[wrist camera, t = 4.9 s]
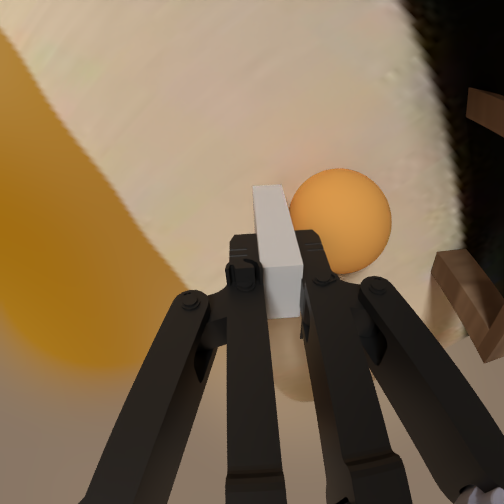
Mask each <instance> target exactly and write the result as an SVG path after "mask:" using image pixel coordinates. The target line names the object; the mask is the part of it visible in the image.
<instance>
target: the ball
mask: <svg viewBox="0 0 504 504" xmlns="http://www.w3.org/2000/svg"><path fill="white" fill-rule="evenodd" d="M289 213H290V217H291V220H292V224H293V228H294V230H310V229H312V230H313V231H315V232H316V233H317V234H318V235H319V237H320V240H321V242H322V245H323V248H324V251H325V253H326V256H327V259H328V262H329V265H330V268H331V270H332V271H333V272H334V273H336V274H346V273H352V272H356V271H359V270H361V269H363V268H365V267H367V266H368V265H370V264H371V263H372V262H374V261H375V260H376V259H377V258H378V257H379V255H380V254H381V253H382V252H383V250H384V248H385V246H386V245H387V242H388V239H389V236H390V232H391V212H390V207H389V204H388V201H387V199H386V197H385V195H384V194H383V192H382V191H381V189H380V188H379V187H378V186H377V185H376V184H375V183H374V182H373V181H372V180H371V179H369V178H368V177H367V176H365V175H363V174H361V173H359V172H356V171H353V170H349V169H330V170H325V171H322V172H320V173H317V174H315V175H313V176H312V177H310V178H309V179H308V180H306V181H305V182H304V183H303V184H302V185H301V186H300V187H299V189H298V190H297V192H296V193H295V195H294V197H293V199H292V201H291V204H290V208H289Z"/></svg>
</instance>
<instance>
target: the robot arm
mask: <svg viewBox="0 0 504 504" xmlns="http://www.w3.org/2000/svg"><path fill="white" fill-rule="evenodd" d="M252 188H253V207H254V226H255V234H241V235H234V236H233V238H232V239H231V241H230V253H229V256H230V257H229V263H228V264H227V265H226V268H225V273H226V280H227V286H226V287H225V288H224V289H222V290H221V291H219V292H217V293H215V294H212V295H208V296H207V295H206V294H204V293H203V292H201V291H198V290H188V291H185V292H182V293H181V294H179V295H178V296H177V297H176V298H175V299H174V301H173V303H172V304H171V306H170V308H169V311H168V312H167V314H166V316H165V318H164V321H163V323H162V325H161V327H160V329H159V331H158V333H157V335H156V337H155V339H154V341H153V343H152V345H151V347H150V349H149V352H148V354H147V356H146V358H145V360H144V362H143V364H142V366H141V368H140V370H139V373H138V375H137V377H136V379H135V381H134V383H133V386H132V388H131V390H130V392H129V394H128V396H127V399H126V401H125V403H124V405H123V408H122V410H121V412H120V414H119V417H118V419H117V421H116V423H115V426H114V428H113V430H112V433H111V435H110V437H109V439H108V442H107V444H106V447H105V449H104V451H103V454H102V456H101V459H100V461H99V463H98V465H97V468H96V470H95V473H94V475H93V478H92V480H91V483H90V485H89V488H88V490H87V493H86V495H85V497H84V498H83V499H82V500H81V501H80V503H78V504H167V502H168V499H169V496H170V492H171V490H172V487H173V484H174V480H175V477H176V474H177V471H178V468H179V465H180V462H181V459H182V456H183V452H184V450H185V447H186V444H187V441H188V437H189V435H190V431H191V428H192V425H193V422H194V419H195V416H196V413H197V410H198V407H199V404H200V401H201V398H202V395H203V392H204V389H205V386H206V383H207V380H208V377H209V374H210V370H211V367H212V364H213V361H214V358H215V355H216V352H217V349H218V347H219V346H222V345H225V344H227V461H228V462H227V463H228V471H227V477H226V485H225V489H226V490H225V495H226V504H287V499H286V489H285V480H284V474H283V471H282V470H283V469H282V462H281V451H280V440H279V430H278V420H277V410H276V400H275V390H274V380H273V370H272V360H271V351H270V341H269V331H268V322H267V319H278V318H291V317H300V311H301V316H302V322H301V333H300V339H303V340H304V345H305V351H306V356H307V362H308V367H309V373H310V379H311V385H312V391H313V397H314V402H315V409H316V414H317V421H318V427H319V433H320V439H321V446H322V453H323V459H324V466H325V473H326V481H327V485H326V501H327V504H412V499H411V494H410V490H409V485H408V481H407V476H406V472H405V468H404V465H403V462H402V459H401V458H400V456H399V455H398V454H396V453H394V452H393V451H392V449H391V446H390V443H389V438H388V434H387V430H386V427H385V423H384V419H383V415H382V411H381V408H380V404H379V401H378V397H377V393H376V390H375V386H374V383H373V380H372V376H371V373H370V370H371V371H372V373H373V375H374V376H375V378H376V380H377V381H378V383H379V385H380V386H381V388H382V390H383V391H384V393H385V395H386V396H387V398H388V400H389V401H390V403H391V405H392V406H393V408H394V410H395V412H396V413H397V415H398V417H399V418H400V420H401V422H402V423H403V425H404V427H405V429H406V430H407V432H408V434H409V436H410V437H411V439H412V441H413V443H414V444H415V446H416V448H417V449H418V451H419V453H420V455H421V456H422V458H423V460H424V462H425V464H426V466H427V467H428V469H429V471H430V473H431V474H432V477H433V478H434V480H435V482H436V483H437V485H438V486H439V488H440V489H441V491H442V492H443V493H444V494H445V496H446V497H447V498H448V499H449V500H450V501H451V502H452V503H453V504H504V435H503V434H502V432H501V430H500V429H499V427H498V426H497V424H496V423H495V421H494V419H493V418H492V417H491V415H490V413H489V412H488V410H487V409H486V407H485V406H484V404H483V403H482V402H481V400H480V399H479V397H478V396H477V394H476V393H475V391H474V390H473V388H472V387H471V386H470V384H469V383H468V381H467V380H466V379H465V377H464V376H463V374H462V373H461V372H460V370H459V369H458V367H457V366H456V365H455V363H454V362H453V361H452V359H451V358H450V357H449V355H448V354H447V353H446V351H445V350H444V349H443V347H442V346H441V345H440V343H439V342H438V341H437V339H436V338H435V337H434V336H433V334H432V333H431V332H430V330H429V329H428V328H427V327H426V325H425V324H424V323H423V321H422V320H421V319H420V318H419V316H418V315H417V314H416V313H415V311H414V310H413V309H412V308H411V307H410V305H409V304H408V303H407V302H406V300H405V299H404V298H403V297H402V296H401V294H400V293H399V292H398V291H397V290H396V288H395V287H394V286H393V285H392V284H391V283H390V282H389V281H388V280H387V279H384V278H382V277H377V276H371V277H367V278H365V279H364V280H363V281H362V282H361V285H360V284H353V283H348V282H344V281H342V280H340V278H339V277H338V275H337V274H336V273H334V272H333V271H332V270H331V268H330V265H329V262H328V259H327V256H326V253H325V251H324V248H323V245H322V242H321V240H320V237H319V235H318V234H317V233H316V232H315V231H313V230H312V229H310V230H294V228H293V224H292V220H291V217H290V213H289V210H288V206H287V202H286V199H285V195H284V192H283V188H282V185H281V184H278V185H260V186H252ZM369 368H370V370H369Z"/></svg>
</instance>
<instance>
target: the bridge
mask: <svg viewBox="0 0 504 504" xmlns="http://www.w3.org/2000/svg"><path fill="white" fill-rule="evenodd" d="M466 117H467V118H469V119H471V120H473V121H475V122H477V123H479V124H481V125H482V126H484V127H486V128H488V129H490V130H492V131H493V132H495V133H497V134H499V135H501V136H502V137H504V96H502V95H500V94H496V93H492V92H488V91H483V90H479V89H475V88H470V87H469V89H468V101H467V110H466ZM431 273H432V274H433V276H434V278H435V279H436V281H437V282H438V284H439V285H440V287H441V289H442V290H443V292H444V293H445V295H446V297H447V298H448V300H449V301H450V303H451V305H452V306H453V308H454V310H455V311H456V313H457V315H458V317H459V318H460V320H461V322H462V324H463V325H464V327H465V329H466V331H467V332H468V334H469V336H470V338H471V340H472V342H473V343H474V345H475V347H476V349H477V351H478V353H479V355H480V357H481V358H482V360H483V362H484V363H487V362H490V361H493V360H495V359H498V358H501V357H503V356H504V298H503V297H502V295H501V294H500V293H499V291H498V290H497V288H496V287H495V286H494V284H493V283H492V282H491V280H490V279H489V278H488V276H487V275H486V274H485V272H484V271H483V270H482V268H481V267H480V266H479V265H478V263H477V262H476V261H475V259H474V258H473V257H472V256H471V254H470V253H469V252H468V251H467V249H458V250H450V251H441V252H437V255H436V258H435V261H434V264H433V267H432V271H431Z"/></svg>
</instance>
